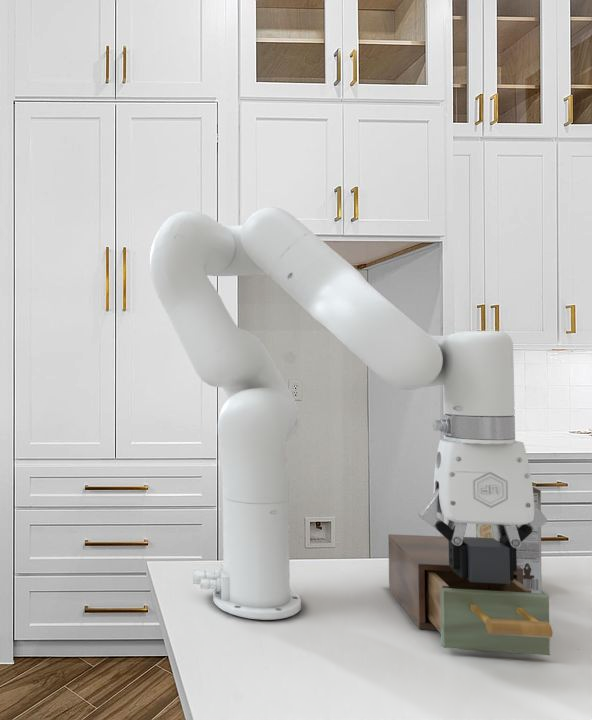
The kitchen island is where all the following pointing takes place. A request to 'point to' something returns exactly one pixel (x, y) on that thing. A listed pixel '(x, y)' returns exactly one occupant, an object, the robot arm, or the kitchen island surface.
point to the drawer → (487, 614)
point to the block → (487, 561)
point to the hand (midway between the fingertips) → (482, 574)
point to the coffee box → (523, 550)
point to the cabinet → (418, 571)
